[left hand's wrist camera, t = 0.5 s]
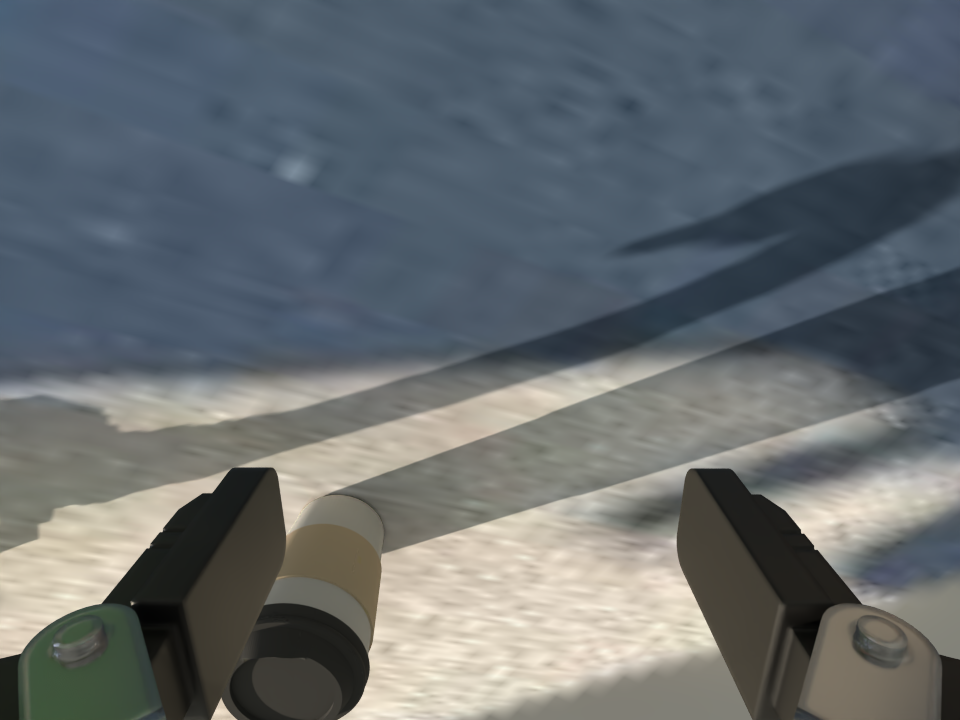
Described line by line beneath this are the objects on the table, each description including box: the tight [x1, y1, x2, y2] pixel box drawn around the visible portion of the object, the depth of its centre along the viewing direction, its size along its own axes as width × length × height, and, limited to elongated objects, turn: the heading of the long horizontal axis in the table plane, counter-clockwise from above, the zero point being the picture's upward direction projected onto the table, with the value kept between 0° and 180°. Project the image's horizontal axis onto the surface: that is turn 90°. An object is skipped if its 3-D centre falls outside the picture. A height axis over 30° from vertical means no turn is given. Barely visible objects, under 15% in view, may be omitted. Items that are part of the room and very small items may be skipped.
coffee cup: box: [221, 495, 384, 720], centre depth 39 cm, size 9×9×15 cm
